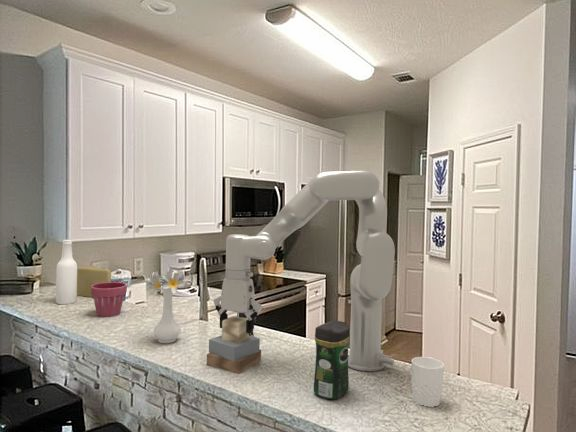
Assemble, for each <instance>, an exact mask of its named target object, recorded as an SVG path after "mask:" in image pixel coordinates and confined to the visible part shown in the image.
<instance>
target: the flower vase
mask: <svg viewBox="0 0 576 432" xmlns="http://www.w3.org/2000/svg"><path fill="white" fill-rule="evenodd" d="M185 277H186V276H185V274H184V273H181V272H180V270H177V272H176V273H175V274H174V275H173V272H172V271H171V270H168V271H167V272H166V274H164V275H160V274H159V271H158V270H157V271H154V272H152V274H151V277H148V278H145V279H144V282H145V283H146V284H147V285H146V286H148V287H147V288H146V290H147V291H148V293H152V292H153V297H156V296H158V295H157V294H158V292H161V291H162V294H163V305H162V306H163V307H162V314H161V315H162V316H161V319H160V320H159V322H158V323H157V325H155V327H154V328H153V335H154V337H155V338H156V339H157V341H158V343H161V344H171V343H174V342H176V341H177V337H179V336H180V335H181V332H182V329H181V327H180V325H179V324H178V323H177V321H176V320H175V318H174V313H173V297H174V295H175V294H177V292H178V287H184V289H186V290H188V288H189V286H190V285H189V283H187V281H185Z"/></svg>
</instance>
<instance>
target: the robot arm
mask: <svg viewBox="0 0 576 432" xmlns="http://www.w3.org/2000/svg"><path fill="white" fill-rule="evenodd" d="M329 201H355V203H356V205H357V207H358V213H359V214H358V227H357V235H356V243H355V244H356V245H355V246H356V251H357V252H358V254H359V255H360V256H361V257H360V259H361V260H360V264H357V265H356V266H355V267H354V268H353V270H352V271H351V275H350V278H349V279H350V280H349V281H350V282H349V284H350V326H349V333H350V338H349V354H348V368H350V369H353V370H357V371H361V372H376V371H381V370H384V369H385V367H386V365H391V366H394V364H395V358H393V356H392V355H386V354H384V350H383V349H381V347H382V346H381V345H382V316H383V303H382V302H383V301H382V299H384V298H385V297H386V296H388V294H389V292H390V290H391V287H392V283H393V275H394V267H395V265H394V264H395V254H396V248H395V243H394V240H393V239H392V237H391V236H390V235H389V234H388V233H387V221H388V220H387V219H388V208H387V201H386V199H385V197H384V195H383V192H382V191H381V190H380V180H379V178H378V176H377V175H376V174H375V173H373V172H372V171H369V170H349V171H348V170H347V171H346V170H345V171H343V170H342V171H322V172H320V173H317V174H316V175H314V176H313V177H312V178H311V179H310V180H309V181H308V182H307V183H306V184H305V185H304V186H303V187H302V188H301V189H300V190H299V191H298V192H297V193H296V194H295V195H294V196H293V197H292V198H291V199H290V200H289V201H287V202H286V204H285V205H284V206H283V207H282V208H281V210H280V211H279V212H278V213H277V214H276V215H275V217H273V218H272V219H271V221H270V222H269V223H268V224H267V225H265V226H264V227H263V229H261V230H260V232H258V233H257V234H256V235H250V236H249V235H248V234H242V233H240V234H238V233H237V234H235V233H233V234H229V235H227V237H226V242H225V243H226V245H225V277H224V278H223V281H222V287H221V293H220V296H219V297H216V298H214V299H213V300H212V301H213V304H214V306H215V310H216V311H217V313H218V316H219V329H222V321H223V320H225V319H227V318H229V317H228V316H229V315H228V313H227V312H234V313H237V312H239V313H245V315H246V317H247V318H248V320H247V321H246V333H250V332H252V331H253V332H254V329H255V322H254V319H255V318H256V319H257V317H258V316H259V315H260V313H261V311H262V309H263V306H262V305H261V304H260V303H259V302H257V301H256V300H255V299H256V297H255V287H254V286H255V285H254V281H253V279H252V278H253V276H254V273H253V272H252V271H251V259H253V260H260V261H261V260H262V261H264V260H269V259H270V258H272V257H273V256H274V255H275V252H276V249H278V247H279V246H280V245H281V244H282V243H283V242H284V241H285V240H286V238H288V237H289V236H290V235H292V234H293V233H295V231H297V230H299V229H300V228H302V227H303V226H305V225H306V224H307V223H308V222H309V221H311V219H312V218H313V217H314V216H315V215H316V214H317V213H318V212H319V211H320V210H321V209H323V207H324V206H326V204H327V203H328V202H329ZM251 277H252V278H251ZM254 309H255V312H253V310H254Z"/></svg>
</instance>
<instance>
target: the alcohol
mask: <svg viewBox="0 0 576 432" xmlns="http://www.w3.org/2000/svg"><path fill="white" fill-rule="evenodd" d="M77 268H78V264H77V262H76V260H75V259H74V258H73V240H72V239H63V240H62V249H61V258H60V260H59V261H58V263H57V264H56V268H55V272H56V273H55V303H56V304H57V305H60V306H66V305H73V304H75V303H76V302H77V301H78V295H77Z"/></svg>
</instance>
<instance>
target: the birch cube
mask: <svg viewBox="0 0 576 432" xmlns="http://www.w3.org/2000/svg"><path fill="white" fill-rule="evenodd" d="M247 320H248V318H241V317H237V316H234V315H232V316H230V317H228V318H227V319H225V320H223V321H222V328H221V335H222V340H223V341H228V342H234V343H240V342H242V341H244V340H246V339H248V338H249V333H246V321H247Z"/></svg>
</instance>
